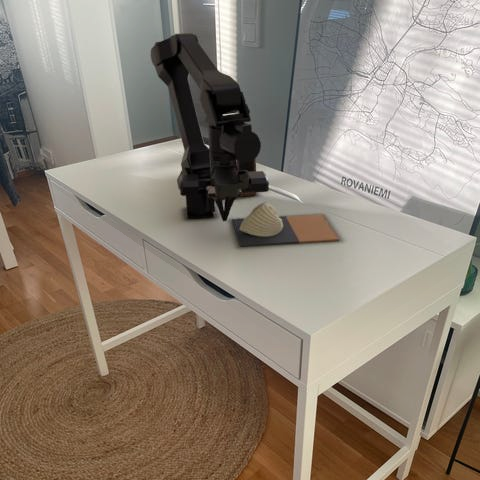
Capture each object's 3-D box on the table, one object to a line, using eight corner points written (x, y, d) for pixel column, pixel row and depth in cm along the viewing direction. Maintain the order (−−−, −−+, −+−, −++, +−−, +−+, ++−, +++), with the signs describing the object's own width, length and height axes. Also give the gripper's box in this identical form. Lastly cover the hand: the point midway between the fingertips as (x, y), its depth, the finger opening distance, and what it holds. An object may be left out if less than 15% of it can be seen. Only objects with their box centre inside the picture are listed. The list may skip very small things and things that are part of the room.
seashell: (293, 225, 108) (268, 215, 102) (269, 250, 112) (244, 241, 107) (281, 200, 112) (256, 189, 106) (257, 225, 116) (233, 216, 111)
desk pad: (240, 246, 105) (240, 245, 105) (232, 220, 116) (232, 219, 116) (338, 240, 108) (339, 238, 107) (321, 215, 119) (321, 214, 119)
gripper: (178, 163, 92) (184, 238, 101) (275, 159, 94) (272, 233, 103) (176, 147, 101) (182, 217, 110) (265, 143, 103) (263, 213, 112)
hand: (224, 220), depth 109 cm, fingers closed
